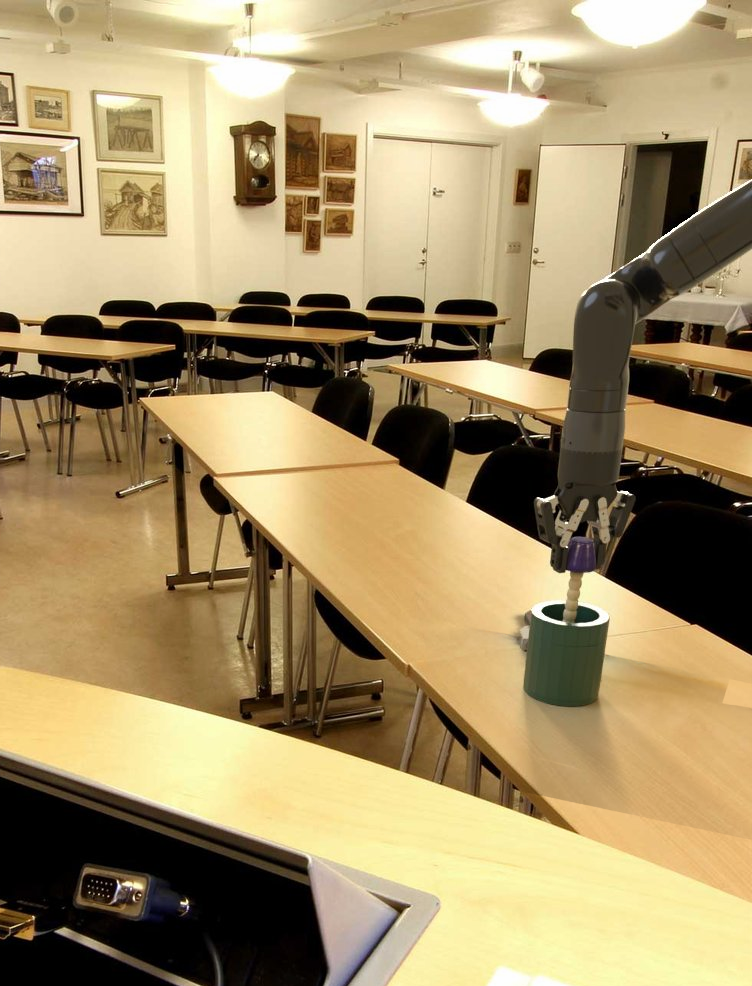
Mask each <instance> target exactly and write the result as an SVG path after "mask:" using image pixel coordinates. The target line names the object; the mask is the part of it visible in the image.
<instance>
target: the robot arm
mask: <svg viewBox="0 0 752 986" xmlns="http://www.w3.org/2000/svg"><path fill="white" fill-rule="evenodd" d="M751 250H752V179H751V180H749V181H747V182H745V183H744V184H741V185H740V186H739V187H737V188H735V189H733V190H732V191H730V192H728V193H727V194H725V195H724V196H722V197H720V198H718V199H717V200H715V201H714V202H712V203H711V204H710V203H709V205H708V206H706V207H704V208H703V209H701V210H700V211H698V212H696V213H695V214H693V215H692V216H691V217H690V218H688V219H687V220H685V221H683V222H682V223H680V224H679V225H678V226H677V227H675V228H673V229H672V230H671V231H670V232H668V233H667V234H665V235H664V236H662V237H661V238H660V239H658V240H657V241H656V242H655V243H653V244H652V245H651V246H649V248H647V250H646V251H645V252H644V253H642V254H641V255H639V256H638V257H636V258H634V259H633V260H631V261H630V262H629V263H627V264H625V265H623V266H622V267H620V268H619V269H618V270H616V271H615V272H613V273H611V274H610V275H608V276H606V277H605V278H604V279H602V280H600V281H598V282H596V283H594V284H592V285H590V286H589V287H588V288H587V289H586V290H585V291H584V292H583V293H582V294H581V295H580V298H579V299H578V301H577V303H576V307H575V313H574V320H573V334H572V335H573V336H572V337H573V338H572V368H571V369H572V370H571V373H570V379H569V384H568V395H567V403H566V411H565V416H564V420H563V424H562V430H561V437H560V447H559V448H560V449H559V458H558V459H559V460H558V467H557V483H558V485H557V487H556V489H555V490H554V493H553V495H551V496H548V497H545V498H541V497H536V498H535V499H534V501H533V508H534V513H535V521H536V526H537V527H536V528H537V532H538V533H537V534H538V537H539V538H538V539H540V540H542V541H544V542H547V543H548V544H551V549H550V550H551V551H550V560H549V566H550V567H551V568H552V570H553V571H554V572H556V573H558V574H565V573H566V572H567V570H566V565H567V557H568V548H569V547H567V546H568V544H569V541H570V540H571V539H572V537H573V536H572V535H573V533H575V532H576V531H577V530H578V527H579V525H580V523H585V522H587V525H589V528H590V529H589V530H590V535H591V538H592V540H593V542H594V547H595V556H596V569H595V570H594V571H599V570H601V568H602V566H603V565H604V564H605V562H606V561H605V560H606V554H607V545H608V543H610V541H611V540H612V539H614V538H615V539H619V538H622V536H623V534H624V532H625V528H626V526H627V523H628V521H629V518H630V517H631V513H632V510H633V508H634V505H635V503H636V500H637V497H636V495H635V494H632V493H630V492H628V491H624V490H620V491H618V489H617V486H616V485H617V484H616V482H617V481H618V480H619V478H620V470H621V462H622V455H623V448H624V440H625V432H626V409H627V403H628V402H627V401H628V394H629V387H630V386H629V384H630V367H629V362H630V357H631V352H632V346H633V339H634V333H635V327H636V325H637V324H638V323H639V322H642V321H643V320H644V319H645V318H647V317H648V316H649V315H651V314H653V313H654V312H656V311H657V310H658V309H660V308H661V307H662V306H664V305H665V304H667V303H668V302H670V301H671V300H672V299H674V298H677V297H680V296H681V295H683V294H686V293H687V292H689V291H691V290H693V289H694V288H696V287H697V286H698V285H700V284H702V283H705V281H707V280H708V279H710V278H711V277H713V276H714V275H716V274H718V273H719V272H721V271H722V270H724V269H725V268H727V267H728V266H729V265H731V264H733V263H734V262H735V261H737V260H739V259H740V258H742V257H743V256H745V255H746V254H747V253H749V252H750V251H751ZM611 505H612V507H611V509H610V512H609V513H608V509H609V508H610V506H611ZM556 506H557V507H558V509H559V511H558V514H557V516H556V518H554V514H555V513H556V511H557V510H556Z"/></svg>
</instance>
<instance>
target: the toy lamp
mask: <svg viewBox="0 0 752 986" xmlns="http://www.w3.org/2000/svg"><path fill="white" fill-rule="evenodd" d="M567 547H569V548H568V557H567V565H566V572H569V577H570V578H569V580H568V584H567V585H568V588H567V590H566V591H567V592H566V599H565V601H566V602H565V608H566V609H565V610H564V613H563V618H564V619H563V621H562V622H567V623H575V622H574V620H575V618H576V615H577V612H576V609H577V608H578V602H579V599H580V596H581V590H580V589H581V588H582V585H583V577H584V574H587V573H588V574H590V573H593V572H594V571H596V570H595V569H596V556H595V547H594V542H593V538H589V537H586V536H574V537H573V536H572V537H571V538H570V540H569V543H568V545H567Z"/></svg>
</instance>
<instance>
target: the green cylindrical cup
mask: <svg viewBox="0 0 752 986" xmlns="http://www.w3.org/2000/svg"><path fill="white" fill-rule="evenodd" d="M565 602H566V600H550V601H549V600H548V601H544V602H540V603H538V604H537V603H536V604H535V605H534V606H533V607H532V608H531V609H530V610H531V618H530V627H529V636H528V645H527V650H526V654H525V655H526V656H525V663H524V673H523V685H522V688H523V691H524V692H525V693H526V694H527V695H528V696H529V697H530V698H532V699H535V700H537V701H539V702H542V703H544V704H548V705H554V706H558V707H560V706H561V707H580V706H586V705H590V704H592V703H594V702H595V701H596V700H597V699H598V697H599V692H600V688H601V682H602V674H603V668H604V661H605V654H606V647H607V639H608V633H609V627H610V619H611V617H610V614H609V613H608V612H607V611H605V610H604V609H603V608H600V607H598V606H595V605H592V604H589V603H584V602H579V601H578V608H577V609H576V612H577V615H576V618H575V620H574V622H575V623H567V622H562V621H563V619H564V618H563V613H564V610H565V609H566V608H565Z"/></svg>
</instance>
